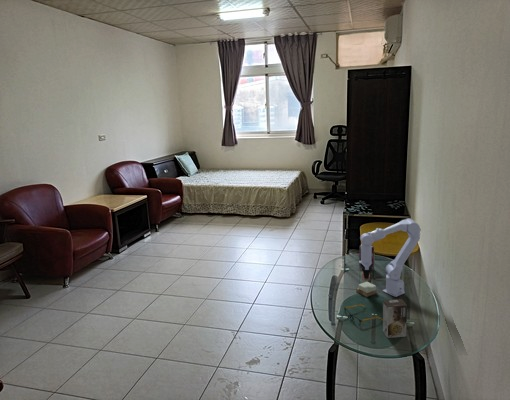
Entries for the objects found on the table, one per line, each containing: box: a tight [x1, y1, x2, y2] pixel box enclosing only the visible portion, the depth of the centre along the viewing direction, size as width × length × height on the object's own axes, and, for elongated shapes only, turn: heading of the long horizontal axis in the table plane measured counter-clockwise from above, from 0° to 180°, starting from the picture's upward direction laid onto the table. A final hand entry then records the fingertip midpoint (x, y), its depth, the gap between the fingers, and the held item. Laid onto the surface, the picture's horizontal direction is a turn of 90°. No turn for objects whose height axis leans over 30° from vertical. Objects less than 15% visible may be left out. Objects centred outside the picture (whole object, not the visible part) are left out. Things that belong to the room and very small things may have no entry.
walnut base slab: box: [355, 287, 378, 298], centre depth 221 cm, size 8×8×2 cm
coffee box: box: [382, 298, 408, 339], centre depth 177 cm, size 9×6×16 cm
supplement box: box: [358, 244, 375, 271], centre depth 252 cm, size 9×5×16 cm, turn 89°
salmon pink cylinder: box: [361, 271, 371, 282], centre depth 219 cm, size 4×4×4 cm
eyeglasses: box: [343, 304, 383, 325], centre depth 195 cm, size 14×14×4 cm
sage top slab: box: [357, 281, 377, 293], centre depth 220 cm, size 7×7×2 cm
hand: (366, 276), depth 219 cm, fingers closed on salmon pink cylinder, 4 cm apart
